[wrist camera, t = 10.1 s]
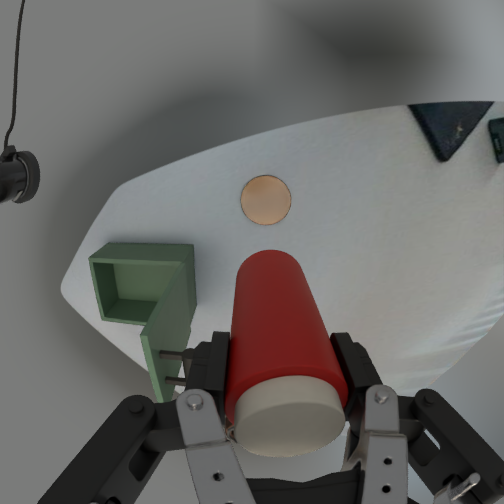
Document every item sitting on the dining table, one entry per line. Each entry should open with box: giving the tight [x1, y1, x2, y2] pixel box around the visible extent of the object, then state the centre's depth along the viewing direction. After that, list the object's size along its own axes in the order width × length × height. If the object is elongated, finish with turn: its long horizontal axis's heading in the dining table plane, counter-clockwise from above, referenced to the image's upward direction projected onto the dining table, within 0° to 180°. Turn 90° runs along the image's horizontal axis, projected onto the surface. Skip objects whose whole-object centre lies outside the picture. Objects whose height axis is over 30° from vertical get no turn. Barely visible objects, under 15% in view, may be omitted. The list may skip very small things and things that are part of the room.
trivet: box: [241, 175, 291, 225], centre depth 44 cm, size 8×8×1 cm
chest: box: [88, 243, 197, 326], centre depth 45 cm, size 17×12×8 cm
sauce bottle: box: [224, 250, 348, 457], centre depth 13 cm, size 5×5×12 cm
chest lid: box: [140, 263, 195, 403], centre depth 33 cm, size 17×12×5 cm
